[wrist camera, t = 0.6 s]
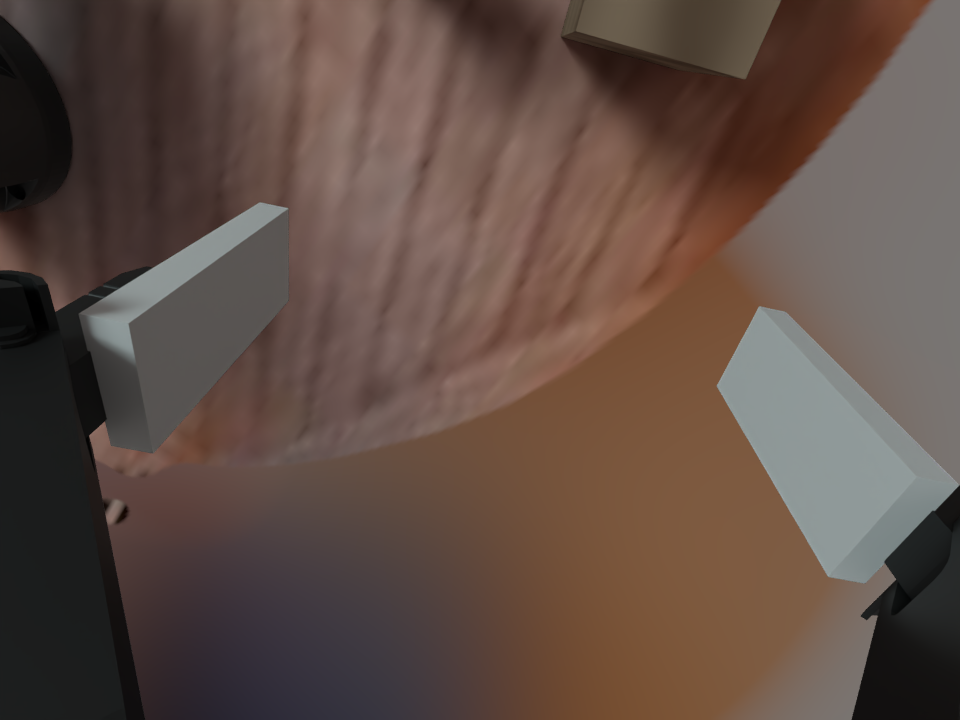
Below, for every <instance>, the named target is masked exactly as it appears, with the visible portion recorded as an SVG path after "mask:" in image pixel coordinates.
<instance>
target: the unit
mask: <svg viewBox="0 0 960 720" xmlns="http://www.w3.org/2000/svg"><path fill="white" fill-rule="evenodd" d="M780 2H781V0H571V1H570V4H569V8H568V12H567V15H566V19H565V23H564V26H563V30H562V34H561V37H564V38H567V39H571V40H574V41H578V42H581V43H585V44H588V45H592V46H595V47H599V48H602V49H606V50H609V51H613V52H616V53H620V54H623V55H627V56H631V57H634V58H638V59H641V60H645V61H648V62H652V63H655V64H659V65H662V66H666V67H669V68H673V69H676V70H681V71H688V72H695V73H702V74H710V75H717V76H724V77H731V78H738V79H746V77H747V75H748V73H749V70H750V68H751V66H752V64H753V62H754V59H755V57H756V55H757V53H758V50H759V48H760V46H761V44H762V42H763V39H764V37H765V35H766V33H767V31H768V28H769V26H770V24H771V22H772V19H773V17H774V15H775V13H776V11H777V8H778V6H779V4H780Z"/></svg>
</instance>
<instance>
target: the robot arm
mask: <svg viewBox="0 0 960 720" xmlns="http://www.w3.org/2000/svg"><path fill="white" fill-rule="evenodd" d="M70 160H71V134H70V128H69V123H68V119H67V115H66V112H65V109H64V106H63V103H62V101H61V98H60V96H59V94H58V92H57V89H56V87H55V85H54V83H53V82H52V80H51V78H50V76H49V74H48V73H47V71H46V69H45V68H44V66H43V65H42V63H41V62H40V60H39V59H38V57H37V56H36V55H35V53H34V52H33V51H32V50H31V48H30V47H29V46H28V44H27V43H26V42H25V41H24V40H23V39H22V38H21V36H20V35H19V34H18V33H17V32H16V31H15V30H14V29H13V28H12V27H11V26H10V25H9V24H8V23H7V22H6V21H5V20H3V19H2V18H1V17H0V212H8V211H13V210H16V209H20V208H23V207H26V206H29V205H33V204H36V203H39V202H41V201H43V200H45V199H47V198H48V197H50V196H51V195H52V194H53V193H55V192H56V191H57V189H58V188H59V187H60V186H61V184H62V183H63V181H64V179H65V177H66V175H67V172H68V169H69V166H70ZM288 301H289V208H284V207H280V206H275V205H270V204H265V203H260V202H259V203H258V204H256V205H255V206H253V207H251V208H250V209H248V210H246V211H245V212H243V213H242V214H240V215H238V216H237V217H235V218H233V219H232V220H230V221H229V222H227V223H225V224H224V225H222V226H220V227H219V228H217V229H216V230H214V231H212V232H211V233H209V234H207V235H206V236H204V237H202V238H201V239H199V240H198V241H196V242H194V243H193V244H191V245H189V246H188V247H186V248H185V249H183V250H181V251H180V252H178V253H176V254H175V255H173V256H172V257H170V258H168V259H167V260H165V261H163V262H162V263H160V264H159V265H157V266H155V267H154V268H152V267H143V268H140V269H136V270H133V271H129V272H125V273H122V274H120V275H118V276H117V277H115V278H113V279H111V280H110V281H108V282H106V283H104V286H103V287H102V286H99V287H98V288H96V289H94V290H92V291H91V292H89V294H88V295H84V296H82V297H80V298H79V299H77V300H75V301H73V302H72V303H70V304H68V305H67V306H65V307H63V308H61V309H60V310H58V311H56V312H55V310H54V306H53V303H52V299H51V295H50V292H49V288H48V284H47V283H46V282H45V281H44V279H43V278H41V277H39V276H36V275H34V274H31V273H26V272H19V271H12V270H3V271H0V720H145V716H144V711H143V706H142V701H141V696H140V690H139V685H138V680H137V676H136V670H135V665H134V660H133V654H132V650H131V644H130V639H129V634H128V629H127V623H126V618H125V613H124V609H123V603H122V598H121V593H120V587H119V583H118V577H117V572H116V567H115V562H114V557H113V552H112V546H111V541H110V536H109V531H108V526H107V521H106V515H105V510H104V505H103V500H102V495H101V490H100V485H99V480H98V475H97V469H96V464H95V459H94V454H93V449H92V445H91V442H90V438H89V435H90V434H91V433H92V432H93V431H94V430H96V429H97V428H98V427H99V426H100V425H101V424H102V423H103V422H104V421H105V423H106V427H107V431H108V435H109V439H110V443H111V446H115V447H121V448H126V449H132V450H137V451H143V452H148V453H154V452H155V451H156V450H157V449H158V448H159V446H160V445H161V444H162V443H163V442H164V441H165V440H166V439H167V437H168V436H169V435H170V434H171V433H172V432H173V431H174V430H175V428H176V427H177V426H178V425H179V424H180V423H181V422H182V421H183V419H184V418H185V417H186V416H187V415H188V414H189V413H190V412H191V410H192V409H193V408H194V407H195V406H196V405H197V404H198V403H199V401H200V400H201V399H202V398H203V397H204V396H205V395H206V394H207V392H208V391H209V390H210V389H211V388H212V387H213V386H214V385H215V383H216V382H217V381H218V380H219V379H220V378H221V377H222V376H223V374H224V373H225V372H226V371H227V370H228V369H229V368H230V367H231V365H232V364H233V363H234V362H235V361H236V360H237V359H238V358H239V356H240V355H241V354H242V353H243V352H244V351H245V350H246V349H247V347H248V346H249V345H250V344H251V343H252V342H253V341H254V340H255V338H256V337H257V336H258V335H259V334H260V333H261V332H262V330H263V329H264V328H265V327H266V326H267V325H268V324H269V323H270V321H271V320H272V319H273V318H274V317H275V316H276V315H277V314H278V312H279V311H280V310H281V309H282V308H283V307H284V306H285V305H286V303H287V302H288ZM717 387H718V389H719V391H720V393H721V394H722V396H723V397H724V399H725V401H726V403H727V404H728V406H729V408H730V410H731V411H732V413H733V415H734V416H735V418H736V420H737V422H738V423H739V425H740V427H741V428H742V430H743V432H744V434H745V435H746V437H747V439H748V440H749V442H750V444H751V446H752V447H753V449H754V451H755V452H756V454H757V456H758V457H759V459H760V461H761V463H762V464H763V466H764V468H765V469H766V471H767V473H768V475H769V476H770V478H771V480H772V481H773V483H774V485H775V487H776V488H777V490H778V492H779V493H780V495H781V497H782V499H783V500H784V502H785V504H786V505H787V507H788V509H789V511H790V512H791V514H792V516H793V517H794V519H795V521H796V523H797V524H798V526H799V528H800V529H801V531H802V533H803V534H804V536H805V538H806V539H807V541H808V543H809V545H810V546H811V548H812V550H813V551H814V553H815V555H816V557H817V558H818V560H819V562H820V564H821V565H822V567H823V569H824V570H825V572H826V574H827V575H828V577H832V578H837V579H843V580H848V581H854V582H859V583H866V582H867V581H868V580H869V579H870V578H871V577H872V576H873V575H874V574H875V573H876V572H877V571H878V570H879V569H880V567H881V566H882V565H883V564H884V563H885V564H886V565H887V567H888V568H889V570H890V571H891V572H892V574H893V575H894V577H895V578H896V581H895V582H893V583H892V584H891V586H889V587H888V588H887V589H886V590H885V591H884V592H883V593H882V594H881V595H880V596H879V598H877V600H875V601H874V602H873V603H872V604H871V605H870V606H869V607H868V608H867V609H866V610H865V612H864V613H863V614H862V615H861V617H863V618H864V619H866V620H867V619H868V618H869V617H870V616H872V615H878V618H877V621H876V626H875V630H874V633H873V638H872V641H871V645H870V649H869V653H868V657H867V661H866V665H865V669H864V673H863V677H862V681H861V685H860V689H859V693H858V697H857V701H856V705H855V709H854V712H853V716H852V720H960V485H959V484H958V483H957V482H956V481H955V480H954V479H953V478H952V477H951V476H950V475H949V474H948V473H947V472H946V471H945V470H944V469H943V468H942V467H941V466H940V465H939V464H938V463H937V462H936V461H935V460H934V459H933V458H932V457H931V456H930V455H929V454H928V453H927V452H926V451H925V450H924V449H923V448H922V447H921V446H920V445H919V444H918V443H917V442H916V441H915V440H914V439H913V438H912V437H910V436H909V434H908V433H907V432H906V431H905V430H904V429H903V428H902V427H901V426H900V425H899V424H898V423H897V422H896V421H895V420H894V419H893V418H892V417H891V416H890V415H889V414H888V413H886V411H884V409H882V407H881V406H880V405H878V403H876V401H875V400H874V399H873V398H872V397H871V396H870V395H868V394H867V392H866V391H865V390H863V388H861V387H860V385H858V384H857V383H856V381H854V379H852V378H851V377H850V376H849V375H848V374H847V373H846V372H845V371H844V370H843V369H842V368H841V367H840V366H839V365H838V364H837V363H836V362H835V361H834V360H833V359H832V358H831V357H830V356H829V355H828V354H827V353H826V352H825V351H824V350H823V349H822V348H821V347H820V346H819V345H818V344H817V343H816V342H815V341H814V340H813V339H812V338H811V337H810V336H809V335H808V334H807V333H806V332H805V331H804V330H803V329H802V328H801V327H800V326H799V325H798V324H797V323H796V322H795V321H794V320H793V319H792V318H791V317H790V316H789V315H788V314H787V313H786V312H784V311H779V310H774V309H769V308H765V307H759V308H758V310H757V312H756V314H755V316H754V318H753V319H752V321H751V323H750V325H749V327H748V329H747V331H746V333H745V334H744V336H743V338H742V340H741V342H740V344H739V346H738V347H737V349H736V351H735V353H734V355H733V357H732V359H731V361H730V362H729V364H728V366H727V368H726V370H725V372H724V374H723V376H722V377H721V379H720V381H719V383H718V385H717Z"/></svg>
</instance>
